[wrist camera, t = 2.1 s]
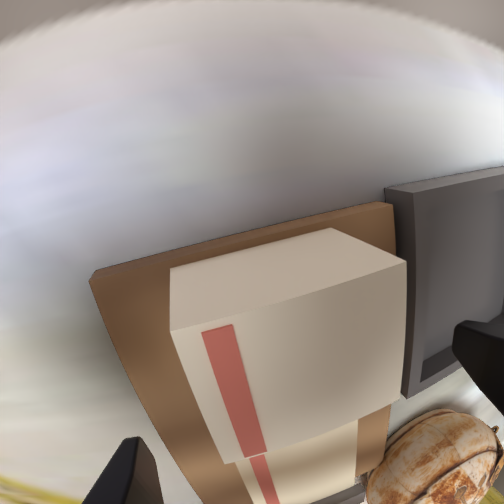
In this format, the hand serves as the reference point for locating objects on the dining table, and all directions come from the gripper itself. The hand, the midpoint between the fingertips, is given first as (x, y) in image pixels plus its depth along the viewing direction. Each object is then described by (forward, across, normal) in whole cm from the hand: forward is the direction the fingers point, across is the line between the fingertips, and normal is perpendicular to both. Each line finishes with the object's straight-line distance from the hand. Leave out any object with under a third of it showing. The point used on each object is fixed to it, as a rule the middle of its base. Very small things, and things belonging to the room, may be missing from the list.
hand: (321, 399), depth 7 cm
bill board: (+6, 0, +6) cm, 9 cm away
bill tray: (+6, -12, +2) cm, 14 cm away
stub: (+5, 0, 0) cm, 5 cm away
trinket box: (+7, -11, +20) cm, 24 cm away
